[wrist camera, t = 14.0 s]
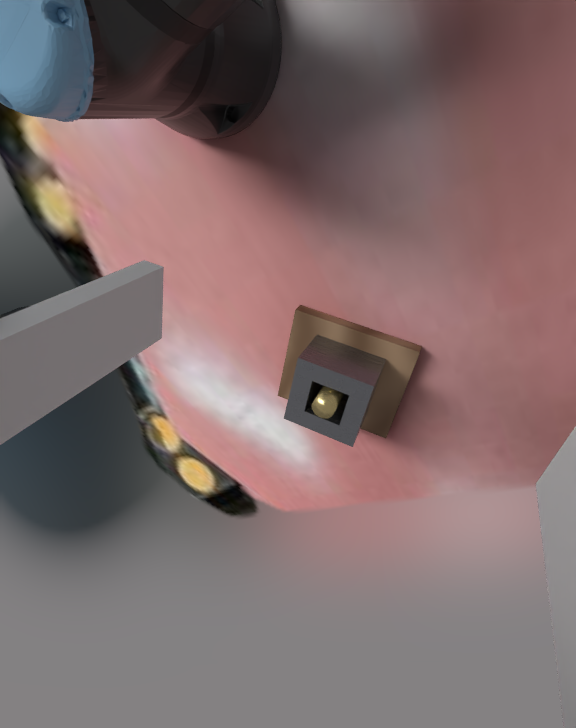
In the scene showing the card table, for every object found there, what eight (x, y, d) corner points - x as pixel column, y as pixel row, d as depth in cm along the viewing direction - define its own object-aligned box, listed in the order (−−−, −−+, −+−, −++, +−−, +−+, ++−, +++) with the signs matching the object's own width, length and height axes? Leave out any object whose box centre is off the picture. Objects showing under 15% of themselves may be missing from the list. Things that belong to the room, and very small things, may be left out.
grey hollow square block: (302, 391, 54) (283, 418, 49) (317, 334, 50) (297, 357, 45) (365, 416, 52) (352, 446, 47) (386, 359, 48) (374, 386, 43)
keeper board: (282, 389, 57) (277, 395, 56) (300, 305, 50) (295, 309, 49) (388, 431, 54) (385, 438, 52) (421, 346, 47) (419, 352, 46)
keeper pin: (329, 380, 52) (309, 413, 46) (334, 363, 50) (314, 394, 45) (349, 388, 51) (331, 421, 45) (354, 371, 50) (336, 403, 44)
